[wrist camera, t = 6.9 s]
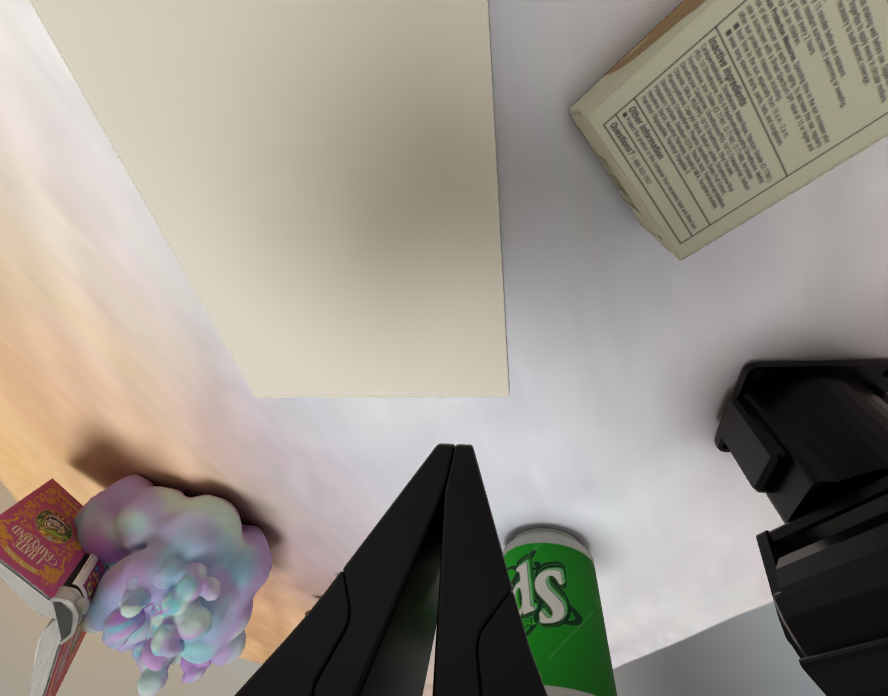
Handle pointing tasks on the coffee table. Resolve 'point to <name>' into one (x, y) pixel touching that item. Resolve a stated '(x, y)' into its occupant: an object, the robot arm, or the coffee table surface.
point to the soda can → (561, 612)
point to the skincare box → (737, 109)
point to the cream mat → (314, 179)
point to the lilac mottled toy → (134, 577)
